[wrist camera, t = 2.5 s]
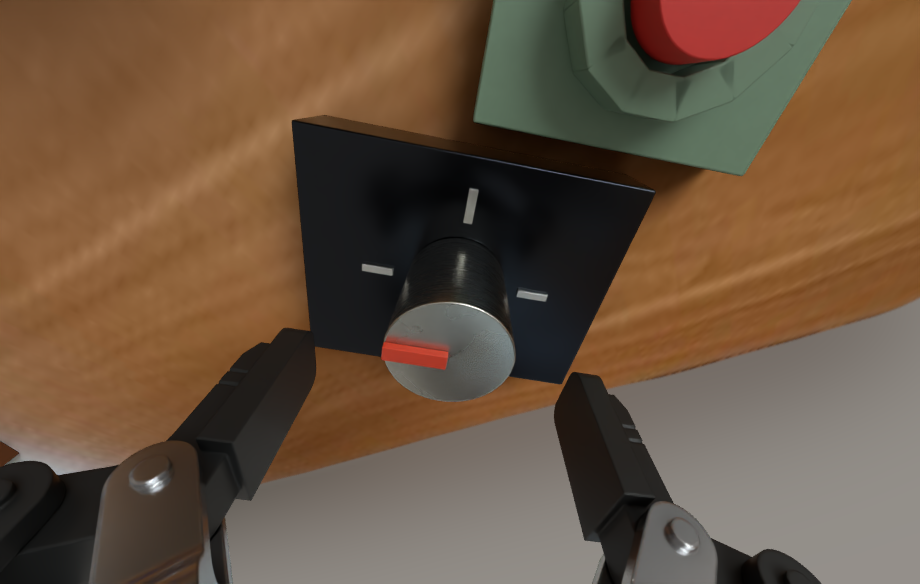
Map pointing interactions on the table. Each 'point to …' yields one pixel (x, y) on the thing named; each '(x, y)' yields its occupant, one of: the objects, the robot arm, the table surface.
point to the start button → (704, 27)
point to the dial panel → (456, 232)
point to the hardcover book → (6, 454)
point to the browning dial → (451, 324)
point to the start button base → (640, 82)
